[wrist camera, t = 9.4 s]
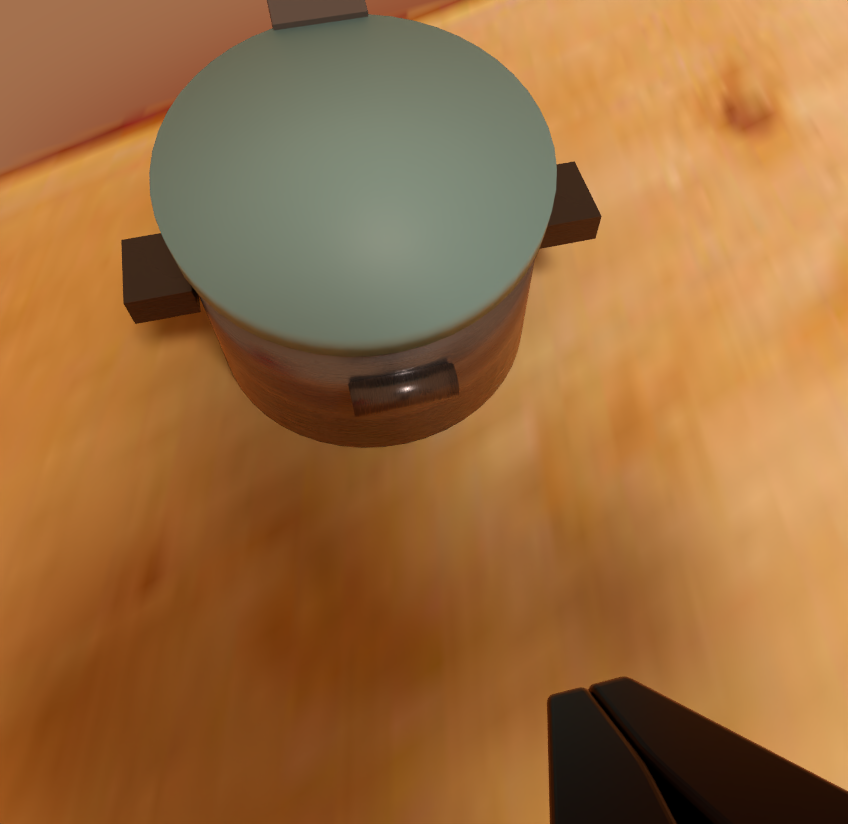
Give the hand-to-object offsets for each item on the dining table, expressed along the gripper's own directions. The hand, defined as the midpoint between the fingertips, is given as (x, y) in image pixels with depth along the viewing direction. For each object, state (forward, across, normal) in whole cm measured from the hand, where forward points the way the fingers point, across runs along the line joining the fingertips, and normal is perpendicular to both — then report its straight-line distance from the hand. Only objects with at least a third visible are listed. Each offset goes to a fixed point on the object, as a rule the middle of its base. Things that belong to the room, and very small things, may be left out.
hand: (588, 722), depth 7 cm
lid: (+18, 0, -8) cm, 20 cm away
